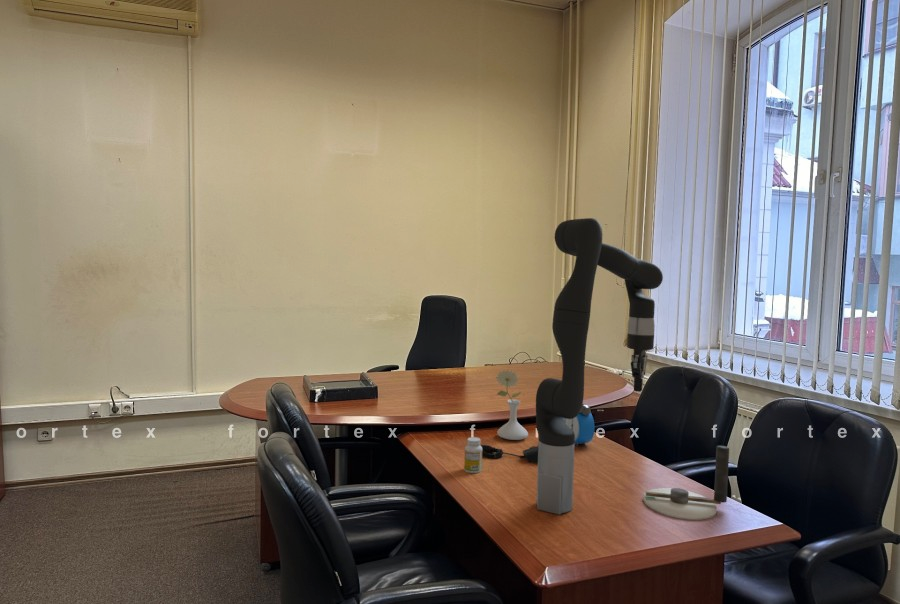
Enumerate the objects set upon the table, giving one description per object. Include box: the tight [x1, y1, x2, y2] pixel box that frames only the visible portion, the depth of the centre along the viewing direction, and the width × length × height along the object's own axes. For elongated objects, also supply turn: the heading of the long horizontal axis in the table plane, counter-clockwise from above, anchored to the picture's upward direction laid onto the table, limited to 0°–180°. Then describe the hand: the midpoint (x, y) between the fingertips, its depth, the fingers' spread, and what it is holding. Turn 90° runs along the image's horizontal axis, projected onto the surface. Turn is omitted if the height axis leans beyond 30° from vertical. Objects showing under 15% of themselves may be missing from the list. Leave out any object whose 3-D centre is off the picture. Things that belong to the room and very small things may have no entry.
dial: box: [645, 445, 730, 505], centre depth 148 cm, size 20×4×15 cm, turn 76°
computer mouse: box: [480, 444, 538, 464], centre depth 184 cm, size 10×32×6 cm, turn 78°
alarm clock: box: [562, 403, 596, 447], centre depth 200 cm, size 13×6×15 cm, turn 20°
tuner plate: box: [642, 487, 718, 521], centre depth 148 cm, size 18×18×1 cm
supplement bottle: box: [463, 436, 483, 474], centre depth 171 cm, size 5×5×10 cm
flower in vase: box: [496, 369, 529, 441], centre depth 205 cm, size 13×11×25 cm
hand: (637, 390), depth 165 cm, fingers closed
